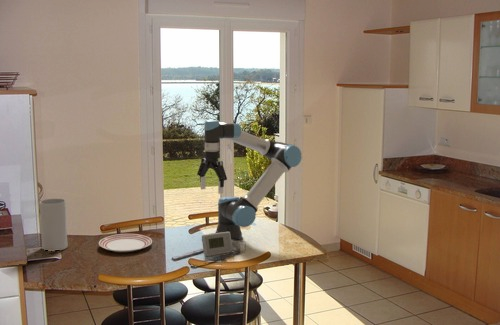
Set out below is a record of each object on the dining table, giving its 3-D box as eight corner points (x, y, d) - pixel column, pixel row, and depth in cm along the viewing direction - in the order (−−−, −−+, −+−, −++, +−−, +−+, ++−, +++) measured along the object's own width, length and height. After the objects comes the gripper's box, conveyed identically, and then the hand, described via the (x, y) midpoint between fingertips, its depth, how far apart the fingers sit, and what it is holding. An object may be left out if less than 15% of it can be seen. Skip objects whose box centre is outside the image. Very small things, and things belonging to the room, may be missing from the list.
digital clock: (203, 257, 279) (203, 237, 277) (199, 252, 287) (199, 232, 285) (234, 255, 283) (235, 235, 282) (230, 249, 292) (230, 230, 290)
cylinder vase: (71, 248, 289) (69, 201, 285) (46, 253, 281) (44, 205, 277) (62, 243, 299) (60, 197, 295) (38, 247, 291) (36, 200, 287)
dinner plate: (162, 246, 295) (162, 240, 295) (119, 259, 275) (119, 252, 275) (131, 236, 313) (131, 230, 313) (88, 247, 293) (88, 241, 292)
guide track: (171, 259, 275) (171, 249, 275) (222, 244, 300) (222, 235, 299) (194, 268, 264) (194, 258, 263) (244, 252, 288) (244, 242, 287)
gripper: (190, 148, 291) (190, 188, 294) (223, 154, 274) (223, 196, 277) (201, 147, 296) (201, 186, 300) (234, 152, 279) (233, 194, 283)
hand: (211, 191), depth 289 cm, fingers open, 13 cm apart
